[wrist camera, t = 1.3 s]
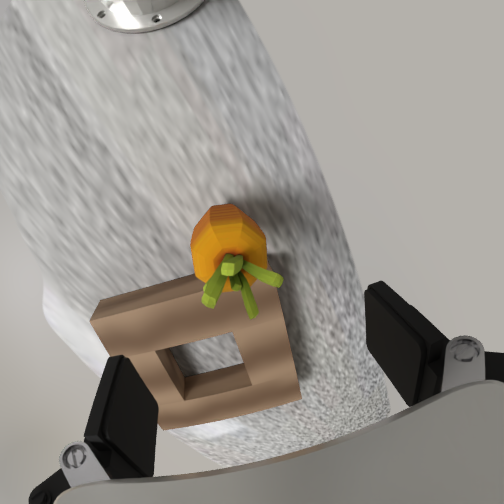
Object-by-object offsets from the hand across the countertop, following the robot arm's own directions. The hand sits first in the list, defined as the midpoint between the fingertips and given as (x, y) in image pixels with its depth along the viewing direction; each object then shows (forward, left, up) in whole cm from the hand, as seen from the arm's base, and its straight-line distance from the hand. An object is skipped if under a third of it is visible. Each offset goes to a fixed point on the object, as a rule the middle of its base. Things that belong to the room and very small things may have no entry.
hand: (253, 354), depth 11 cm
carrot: (0, 0, -19) cm, 19 cm away
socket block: (+14, -6, -19) cm, 24 cm away
